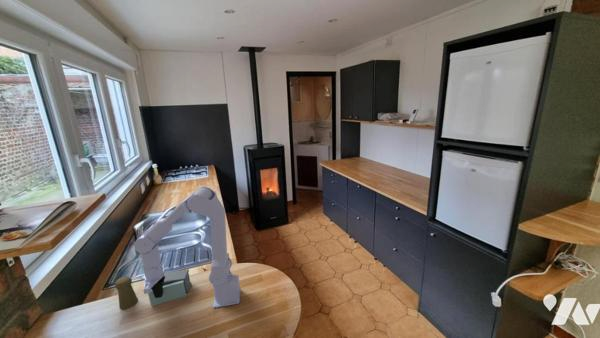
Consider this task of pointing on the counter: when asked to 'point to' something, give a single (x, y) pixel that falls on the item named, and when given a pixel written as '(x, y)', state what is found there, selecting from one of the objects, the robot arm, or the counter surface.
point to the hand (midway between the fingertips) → (159, 296)
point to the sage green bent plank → (169, 293)
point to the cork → (126, 293)
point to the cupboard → (178, 278)
